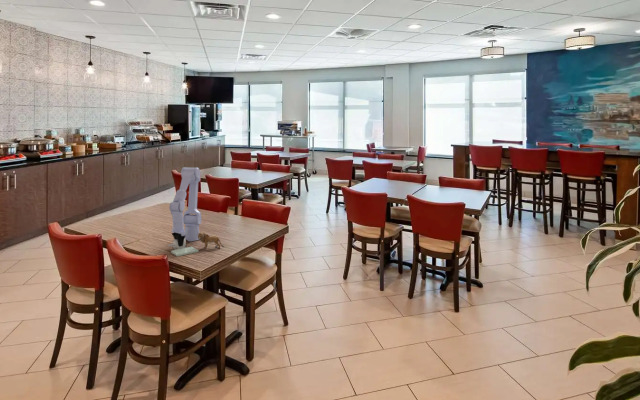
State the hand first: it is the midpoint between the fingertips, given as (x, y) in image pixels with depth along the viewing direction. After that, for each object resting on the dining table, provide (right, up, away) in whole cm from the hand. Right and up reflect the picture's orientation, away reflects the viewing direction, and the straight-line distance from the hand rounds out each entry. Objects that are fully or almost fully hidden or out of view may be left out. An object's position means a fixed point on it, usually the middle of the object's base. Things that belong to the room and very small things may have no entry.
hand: (179, 245), depth 228 cm
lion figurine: (+17, -2, +1) cm, 17 cm away
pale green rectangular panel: (+6, -3, -7) cm, 10 cm away
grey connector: (-1, -2, 0) cm, 2 cm away
